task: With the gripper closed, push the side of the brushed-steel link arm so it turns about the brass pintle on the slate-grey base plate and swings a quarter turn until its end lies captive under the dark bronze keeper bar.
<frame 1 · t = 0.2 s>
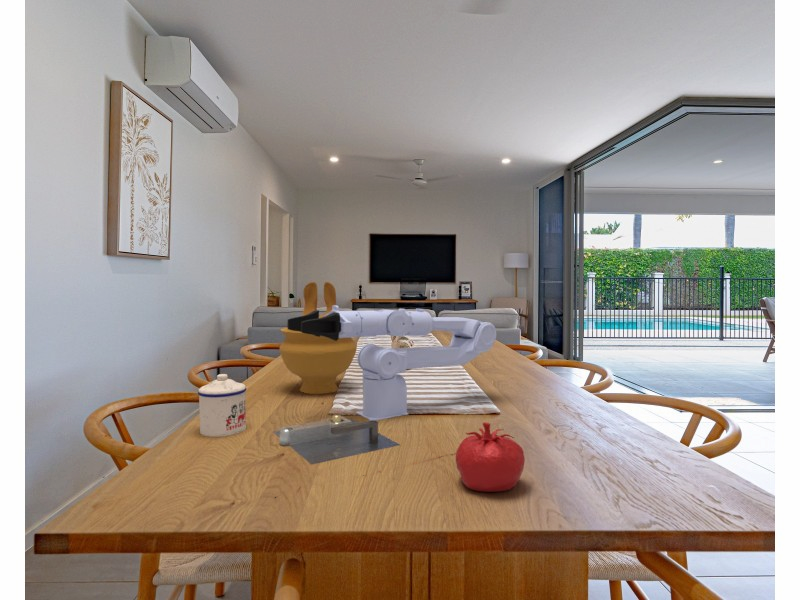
hand: (294, 325, 96), 21 cm above the table, tool horizontal, fingers open, 7 cm apart
keeper: (355, 448, 86), resting on base plate
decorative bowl: (319, 390, 134), on the table
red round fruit: (489, 485, 71), on the table
base plate: (334, 441, 91), on the table
pintle: (336, 436, 93), resting on base plate
link: (314, 431, 91), point 2 cm above the table, hinge at 0.0°
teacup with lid: (226, 431, 98), on the table
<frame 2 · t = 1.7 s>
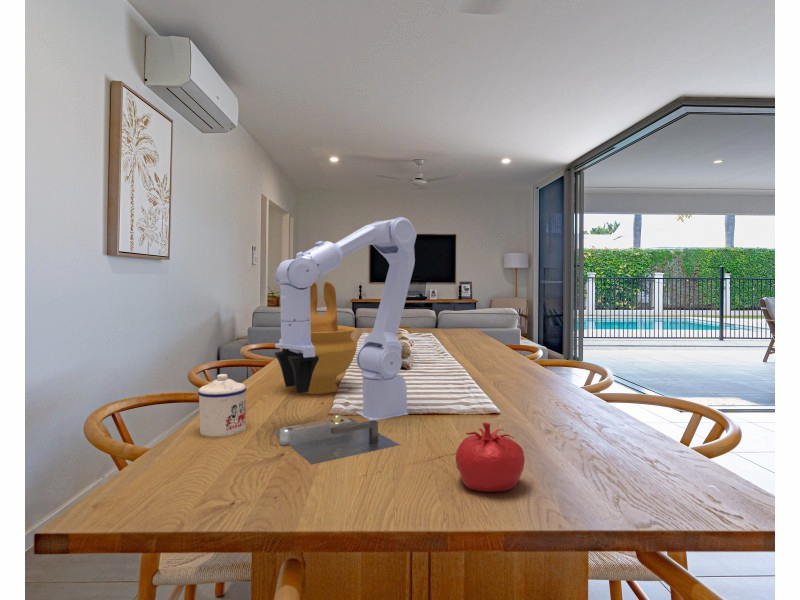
hand: (296, 389, 95), 9 cm above the table, tool pointing down, fingers open, 6 cm apart
nothing on the table moved.
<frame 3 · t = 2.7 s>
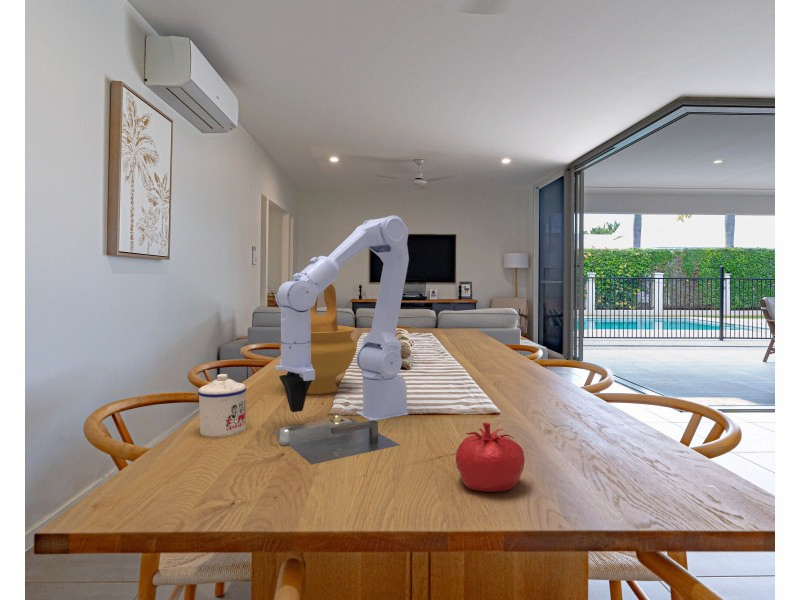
hand: (296, 410, 95), 5 cm above the table, tool pointing down, fingers closed
nothing on the table moved.
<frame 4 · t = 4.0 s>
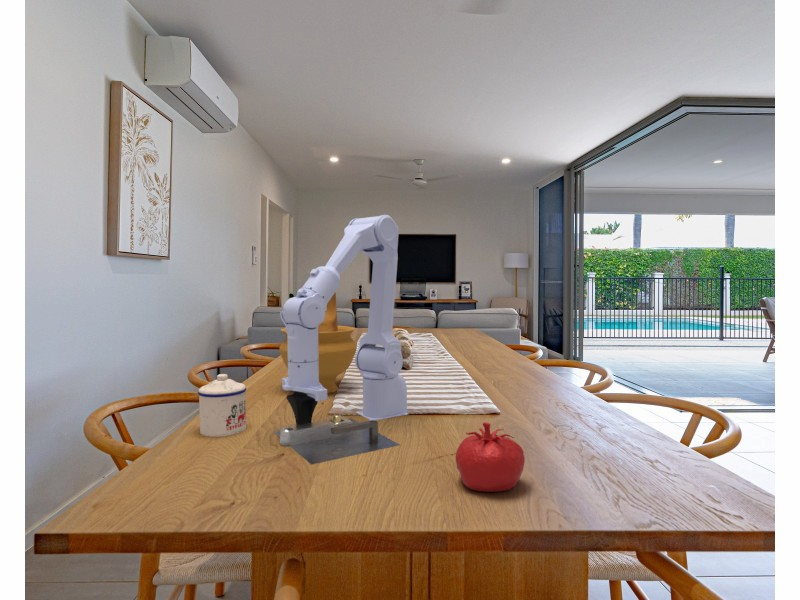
hand: (304, 431, 91), 2 cm above the table, tool pointing down, fingers closed, pressing on link
link: (315, 431, 91), point 2 cm above the table, hinge at 1.2°, touching gripper
everything else where it was.
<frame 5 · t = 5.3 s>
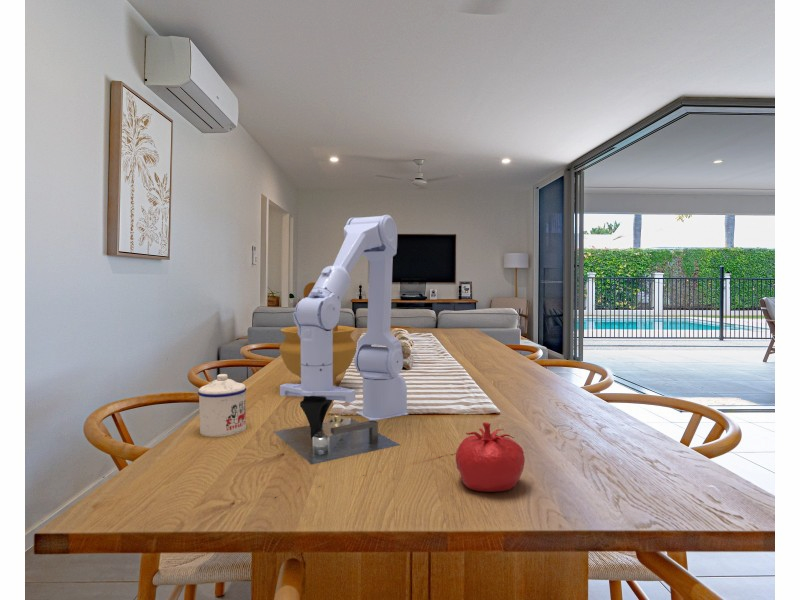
hand: (317, 437, 88), 2 cm above the table, tool pointing down, fingers closed, pressing on link
link: (330, 434, 89), point 2 cm above the table, hinge at 49.7°, touching gripper
everything else where it was.
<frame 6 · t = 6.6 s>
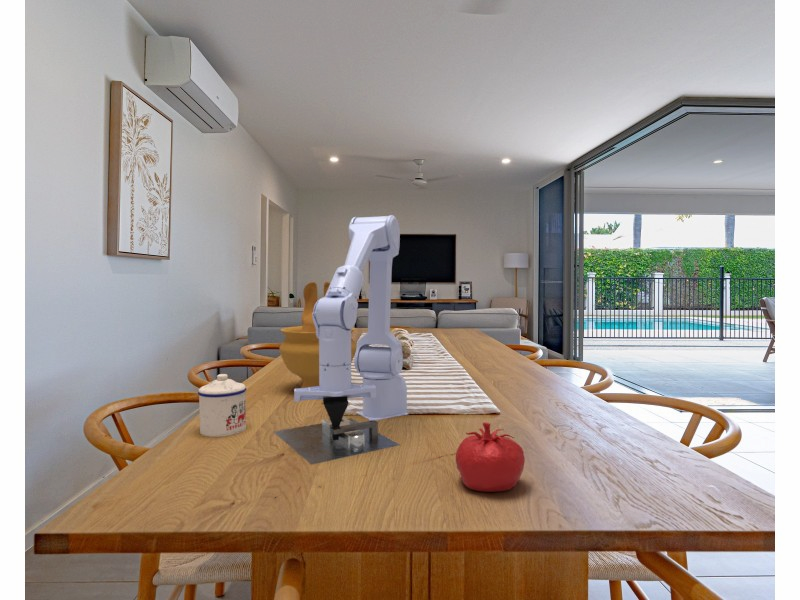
hand: (335, 438, 87), 2 cm above the table, tool pointing down, fingers closed, pressing on link
link: (345, 433, 89), point 2 cm above the table, hinge at 85.3°, touching gripper
everything else where it was.
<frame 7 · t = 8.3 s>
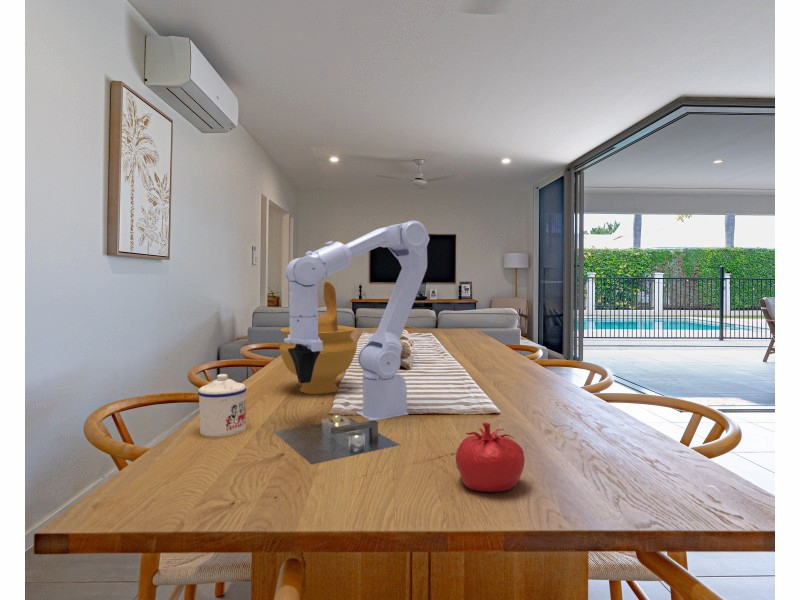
hand: (304, 382, 99), 9 cm above the table, tool pointing down, fingers closed
link: (345, 433, 89), point 2 cm above the table, hinge at 85.6°
everything else where it was.
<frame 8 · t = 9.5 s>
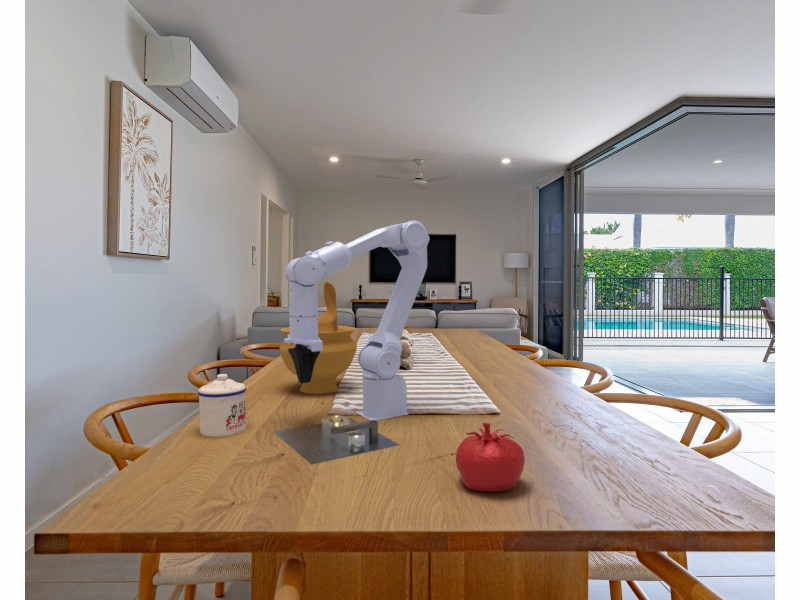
hand: (304, 382, 99), 9 cm above the table, tool pointing down, fingers closed
link: (345, 433, 89), point 2 cm above the table, hinge at 85.6°, touching base plate
everything else where it was.
at the end: link at +86° (first picture: +0°) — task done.
